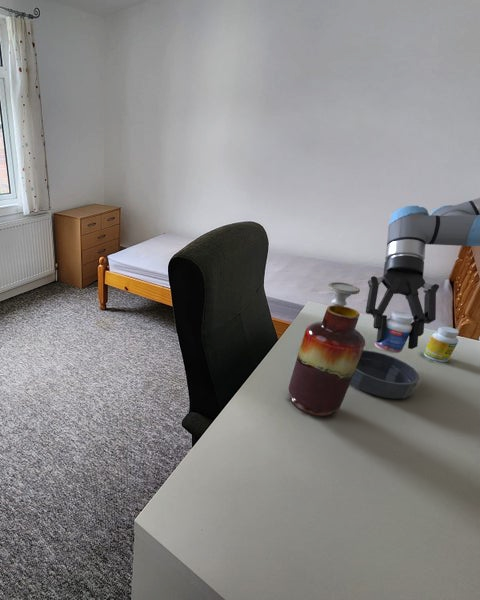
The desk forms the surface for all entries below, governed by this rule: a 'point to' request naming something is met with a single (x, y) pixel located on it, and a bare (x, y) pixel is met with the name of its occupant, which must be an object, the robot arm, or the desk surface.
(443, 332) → the supplement bottle
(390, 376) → the pan
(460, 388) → the desk surface
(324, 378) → the vase
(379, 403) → the desk surface
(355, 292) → the candle holder
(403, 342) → the pill bottle
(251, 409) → the desk surface
